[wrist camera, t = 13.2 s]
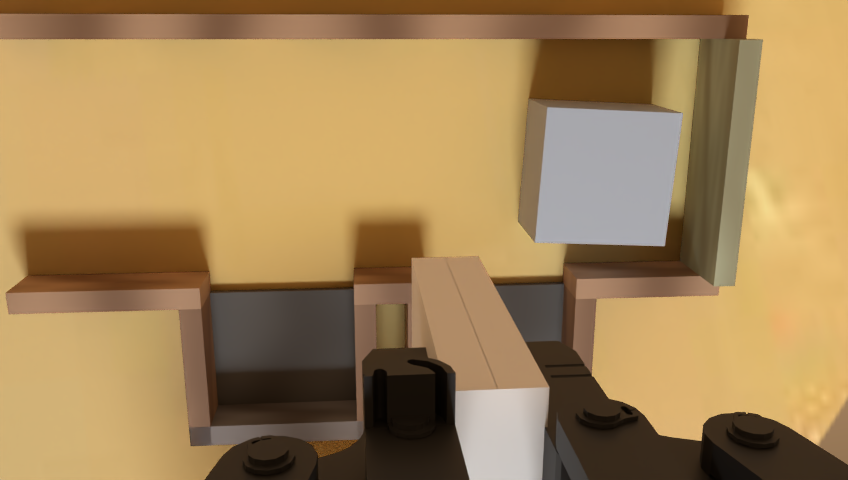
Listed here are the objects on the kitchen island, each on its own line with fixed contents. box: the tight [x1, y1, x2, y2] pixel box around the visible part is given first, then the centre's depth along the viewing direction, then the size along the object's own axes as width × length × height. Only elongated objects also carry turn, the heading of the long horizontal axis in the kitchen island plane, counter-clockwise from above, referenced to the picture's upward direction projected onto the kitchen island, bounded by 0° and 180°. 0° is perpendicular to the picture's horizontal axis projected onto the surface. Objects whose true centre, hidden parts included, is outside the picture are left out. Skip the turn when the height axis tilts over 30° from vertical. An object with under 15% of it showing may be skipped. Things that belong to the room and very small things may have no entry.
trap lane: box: [0, 14, 763, 446], centre depth 37 cm, size 33×20×4 cm, turn 90°
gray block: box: [518, 99, 683, 246], centre depth 37 cm, size 6×6×4 cm
